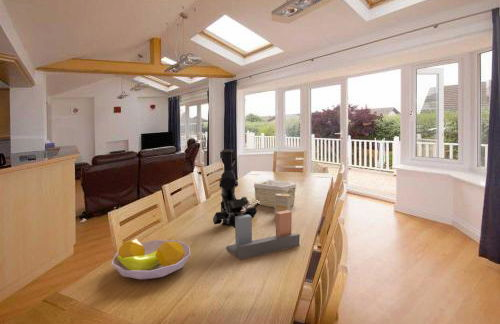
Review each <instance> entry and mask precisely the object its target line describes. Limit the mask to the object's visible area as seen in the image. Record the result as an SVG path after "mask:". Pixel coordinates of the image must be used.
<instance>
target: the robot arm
mask: <svg viewBox="0 0 500 324" xmlns="http://www.w3.org/2000/svg"><path fill="white" fill-rule="evenodd" d="M219 155H220V159H221V163H222V164H223V172H222V173H221V176H220V177H221V179H219V188H220V189H221V193H220V196H221V201H220V211H217V212H215V214H214V215H213V218H212V222H213V225H220V224H221V225H223V226H224V225H225V226H231V227H232V228H234V229H235V217H236V216H242V215H250V216H252V219H253V218H254V217H255V216H256V215H257V213H258V210H257V208H256V207H255V206H251V207H246V209H245V210H243V207H245V206H246V205H248V203H249V200H248V198H247V196H244V197H241V198H239V199H238V198H237V197H236V195H235V191H236V190H235V189H236V188H237V187H238V186H239V182H238V180H237V178H236V175H235V173H234V172H233V166H234V164H235V162H236V158H237V151H236V150H234V149H222V151H219ZM242 210H243V211H242Z"/></svg>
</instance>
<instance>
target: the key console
mask: <svg viewBox="0 0 500 324" xmlns="http://www.w3.org/2000/svg"><path fill="white" fill-rule="evenodd" d="M300 236H301V235H300V233H297V232H295V233H291V234H289V235H284V236H280V237H276V235H272V236H268V237H263V238H258V239H252V242H251V243H247V244H242V245H238V249H237V248H236V243H234V244H230V245H226V247H225V248H226V249H227V250H228V251H229V252H231V254H233V255H234V256H235V257H236V258H237V259H238V260H239V261H240V260H245V259H249V258H255V257H258V256H261V255H267V254H270V253H274V252H279V251H283V250H286V249H290V248H291V249H292V248H295V247H299V246H300Z"/></svg>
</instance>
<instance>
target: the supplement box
mask: <svg viewBox="0 0 500 324" xmlns="http://www.w3.org/2000/svg"><path fill="white" fill-rule="evenodd" d="M286 210H288V211H290V212H292V206H291V195H289V194H280V193H278V194H275V208H274V218H276V212H280V211H286Z"/></svg>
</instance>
